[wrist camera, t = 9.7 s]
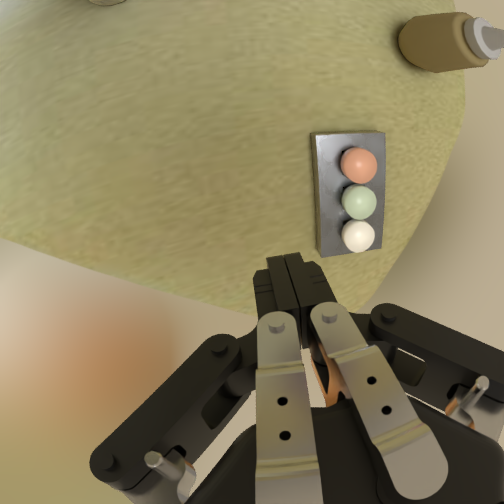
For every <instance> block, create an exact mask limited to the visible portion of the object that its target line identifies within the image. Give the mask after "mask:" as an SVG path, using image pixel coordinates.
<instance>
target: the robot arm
mask: <svg viewBox="0 0 504 504" xmlns="http://www.w3.org/2000/svg"><path fill="white" fill-rule="evenodd" d="M89 1H90V2H92V3H94V4H97V5H101V6H108V5H114V4H117V3H120V2H123V1H125V0H89ZM266 260H267V268H268V269H264V270H258V271H256V273H255V275H254V277H253V284H254V291H255V298H256V306H257V313H258V324H257V326H256V327H255V328H254V330H253V331H251V332H250V333H249V334H247V335H245V336H243V337H240V338H238V339H236V338H235V337H233V336H231V335H229V334H217V335H214V336H211V337H210V338H208V339H207V340H206V341H204V342H203V344H201V345H200V346H199V347H198V349H197V350H196V351H195V352H194V353H193V354H192V355H191V356H190V357H189V358H188V359H187V360H186V361H185V362H184V363H183V364H182V365H181V366H180V367H179V368H178V369H177V370H176V371H175V372H174V373H173V374H172V375H171V376H170V377H169V378H168V379H167V380H166V381H165V382H164V383H163V384H162V385H161V386H160V387H159V388H158V389H157V390H156V391H155V392H154V393H153V394H152V395H151V396H150V397H149V398H148V399H147V400H146V401H145V402H144V403H143V404H142V405H141V406H140V407H139V408H138V409H137V410H135V411H134V412H133V413H132V414H131V415H130V416H129V417H128V418H127V419H126V420H125V421H124V422H123V423H122V424H121V425H120V426H119V427H118V428H117V429H116V430H115V431H114V432H113V433H112V434H111V435H110V436H108V438H106V439H105V440H104V441H103V442H102V443H101V444H100V445H99V446H98V447H97V448H96V449H95V450H94V451H93V453H92V455H91V457H90V462H89V463H90V469H91V471H92V473H93V475H94V476H95V477H96V478H97V479H99V480H100V481H102V482H104V483H106V484H108V485H110V486H111V487H112V488H114V489H116V490H118V491H120V492H122V493H124V494H125V495H126V496H127V497H128V498H129V499H130V500H131V501H132V502H133V503H134V504H504V451H503V449H502V447H501V446H500V445H499V444H498V443H497V442H498V439H499V436H500V433H501V431H502V428H503V425H504V352H503V351H501V350H499V349H496V348H494V347H492V346H490V345H487V344H485V343H482V342H480V341H478V340H476V339H473V338H471V337H469V336H467V335H464V334H462V333H460V332H458V331H455V330H453V329H451V328H448V327H446V326H444V325H441V324H439V323H437V322H434V321H432V320H430V319H428V318H425V317H423V316H420V315H418V314H416V313H414V312H411V311H409V310H407V309H404V308H402V307H400V306H397V305H395V304H390V303H384V304H379V305H377V306H376V307H374V308H373V309H372V311H371V314H355V313H351V312H348V311H347V309H346V308H345V307H344V306H343V305H341V304H339V303H338V302H337V300H336V298H335V296H334V294H333V292H332V290H331V287H330V285H329V283H328V281H327V279H326V277H325V275H324V273H323V271H322V269H321V267H320V266H319V265H317V264H316V263H315V262H313V261H310V262H305V263H304V261H303V259H302V256H301V254H300V252H297V253H291V254H285V255H283V256H282V255H280V256H274V257H268V258H266ZM301 345H302V348H303V349H305V348H309V349H310V353H311V364H312V367H313V370H314V372H315V375H316V378H317V380H318V383H319V385H320V388H321V391H322V393H323V396H324V399H325V403H326V407H324V408H322V407H321V408H319V407H315V408H314V407H310V401H309V394H308V388H307V381H306V374H305V368H304V364H303V363H302V357H301V351H300V350H301ZM398 348H400V349H402V350H404V351H406V352H408V353H411V354H413V355H415V356H417V357H419V358H421V359H423V360H424V361H425V362H423V361H421V360H419V359H417V358H415V357H413V356H411V355H409V354H407V353H405V352H403V351H400V350H398ZM253 390H256V424H254V425H252V426H251V427H249V428H248V429H246V430H245V431H244V432H243V433H241V435H239V436H238V437H237V438H236V440H235V441H234V442H233V443H232V445H231V446H230V447H229V449H228V450H227V451H226V453H225V454H224V455H223V457H222V458H221V459H220V460H219V462H218V463H217V464H216V465H215V467H214V468H213V469H212V471H211V472H210V473H209V474H208V475H207V477H206V478H205V479H204V480H203V482H202V483H201V484H200V486H198V488H197V489H196V490H195V491H194V492H193V493H192V495H191V496H190V497H189V492H190V490H191V488H192V486H193V485H194V483H195V481H196V471H195V469H194V467H193V465H192V464H193V463H194V462H195V461H196V460H197V459H198V458H199V457H200V455H201V454H202V453H203V452H204V451H205V450H206V449H207V448H208V446H209V445H210V444H211V443H212V442H213V441H214V439H215V438H216V437H217V436H218V434H219V433H220V432H221V431H222V430H223V429H224V427H225V426H226V425H227V424H228V423H229V421H230V420H231V419H232V418H233V416H234V415H235V414H236V413H237V411H238V410H239V409H240V407H241V406H242V405H243V404H244V402H245V401H246V400H247V399H248V397H249V395H250V394H251V391H253ZM405 392H406V393H408V394H410V395H412V396H414V397H416V398H418V399H420V400H422V401H424V402H426V403H428V404H430V405H432V406H434V407H436V408H438V409H441V410H442V411H444V412H445V414H446V415H445V414H443V413H441V412H439V411H437V410H435V409H433V408H431V407H430V406H428V405H426V404H424V403H422V402H420V401H418V400H417V399H415V398H413V397H410V396H408V395H406V394H405Z"/></svg>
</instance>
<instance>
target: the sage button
mask: <svg viewBox="0 0 504 504" xmlns="http://www.w3.org/2000/svg"><path fill="white" fill-rule="evenodd" d="M376 203H377V201H376V196H375V194H374V193H373V192H372V191H371V190H370V189H369V188H367V187H366V186H364V185H362V184H354V185H351V186H346V187H345V188H344V189H343V195H342V206H343V208H344V210H345V211H346V212H347V213H348V214H349V215H350V216H351V217H352V218H354V219H357V220H362V219H365V218H367V217H369V216H370V215H371V214H372V213H373V212H374V210H375V208H376Z"/></svg>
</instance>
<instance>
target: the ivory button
mask: <svg viewBox="0 0 504 504" xmlns="http://www.w3.org/2000/svg"><path fill="white" fill-rule="evenodd" d="M374 237H375V233H374V230H373V228H372V227H371V226H370V225H369V224H368V223H367V222H366V221H365V220H364V219H362V220H357V219H351V220H344V221H343V230H342V240H343V242H344V243H345V244H346V246H347V247H348V249H349V250H351V251H353V252H363V251H365V250H367V249H368V248H369V247H370V246H371V245H372V243H373V241H374Z"/></svg>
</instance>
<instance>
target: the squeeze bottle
mask: <svg viewBox="0 0 504 504" xmlns="http://www.w3.org/2000/svg"><path fill="white" fill-rule="evenodd" d="M398 41H399V47H400V50H401V52H402V54H403V55H404V56H405V58H406V59H407V60H408V61H410V62H411V63H412V64H414V65H416V66H418V67H421V68H423V69H425V70H428V71H431V72H434V73H440V72H446V71H453V70H459V69H467V68H474V67H483V66H485V65H486V64H487V63H488V60H489V59H497V58H498V57H499V56H500V53H501V48H504V30H501V29H497V28H494V27H493V26H492V25H491V24H490V23H489V22H488V21H487V20H485V19H483V18H473V17H472V16H470V15H468V14H467V13H463V12H453V13H441V14H431V15H423V16H416V17H414V18H412V19H411V20H409V21H408V22H407V24H406V25H405V26H404V28H403V29H402V30H401V32H400V34H399V37H398Z"/></svg>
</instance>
